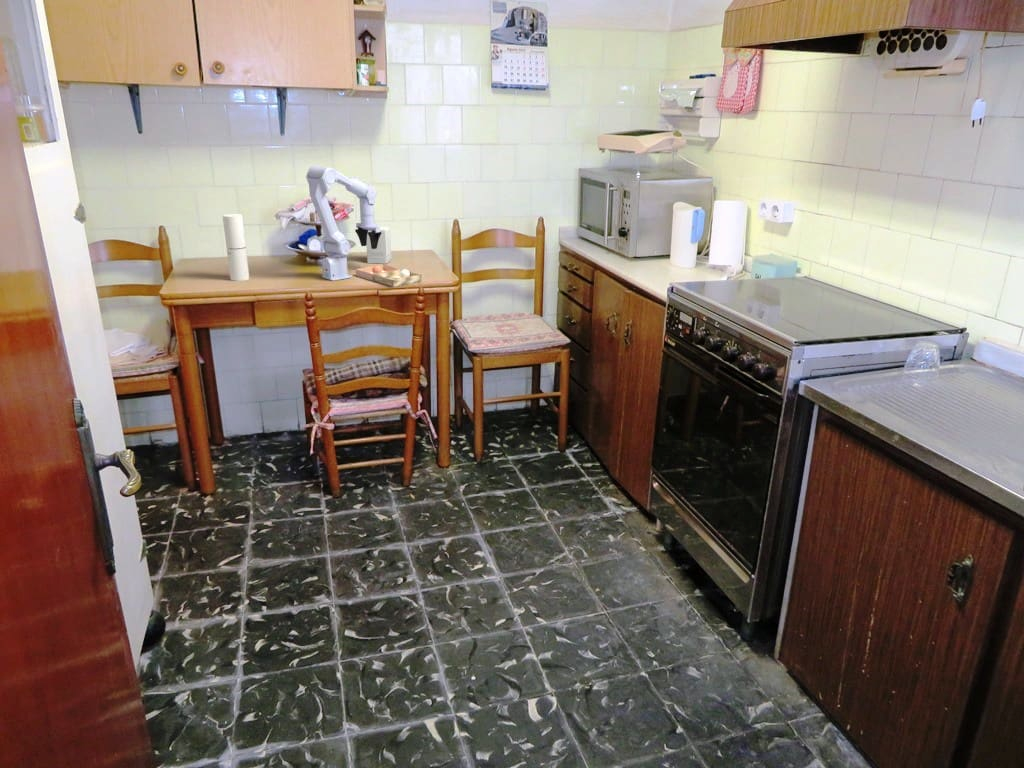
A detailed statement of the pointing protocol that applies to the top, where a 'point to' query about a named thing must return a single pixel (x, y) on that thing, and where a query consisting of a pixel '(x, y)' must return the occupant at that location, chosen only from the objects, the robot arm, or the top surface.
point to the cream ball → (404, 273)
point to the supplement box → (380, 248)
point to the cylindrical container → (236, 247)
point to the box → (396, 278)
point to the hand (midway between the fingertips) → (369, 247)
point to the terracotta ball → (376, 269)
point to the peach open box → (368, 273)
